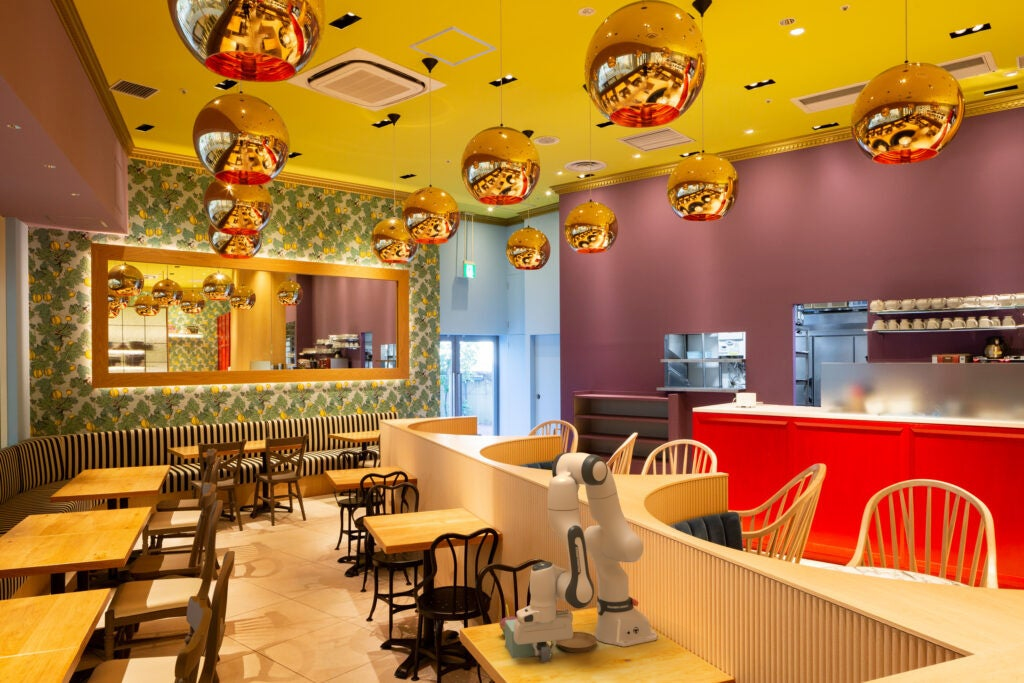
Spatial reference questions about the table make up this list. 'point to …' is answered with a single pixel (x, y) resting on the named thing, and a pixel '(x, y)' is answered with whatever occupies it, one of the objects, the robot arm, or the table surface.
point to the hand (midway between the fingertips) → (543, 654)
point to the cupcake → (502, 622)
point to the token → (544, 652)
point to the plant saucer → (578, 642)
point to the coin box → (512, 646)
